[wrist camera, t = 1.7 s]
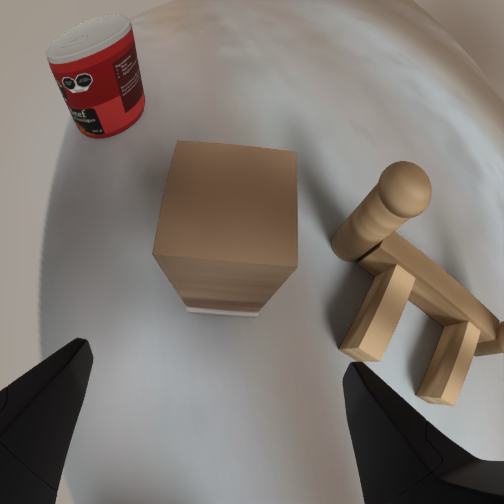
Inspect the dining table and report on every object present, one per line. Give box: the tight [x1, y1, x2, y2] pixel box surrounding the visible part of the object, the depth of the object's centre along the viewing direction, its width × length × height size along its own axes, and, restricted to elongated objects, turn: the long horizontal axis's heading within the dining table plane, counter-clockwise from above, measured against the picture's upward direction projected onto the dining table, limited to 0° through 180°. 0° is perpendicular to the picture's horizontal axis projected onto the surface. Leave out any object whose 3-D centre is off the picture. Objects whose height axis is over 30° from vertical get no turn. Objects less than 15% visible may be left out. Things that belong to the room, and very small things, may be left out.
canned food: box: [46, 15, 145, 138], centre depth 21 cm, size 8×8×11 cm
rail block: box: [152, 141, 298, 318], centre depth 16 cm, size 5×5×13 cm
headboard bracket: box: [331, 161, 504, 406], centre depth 17 cm, size 10×21×11 cm, turn 57°
